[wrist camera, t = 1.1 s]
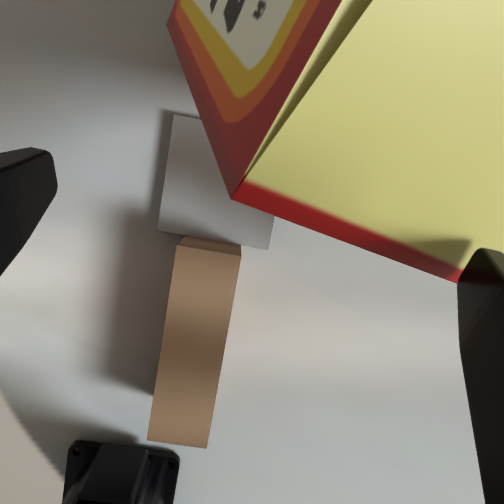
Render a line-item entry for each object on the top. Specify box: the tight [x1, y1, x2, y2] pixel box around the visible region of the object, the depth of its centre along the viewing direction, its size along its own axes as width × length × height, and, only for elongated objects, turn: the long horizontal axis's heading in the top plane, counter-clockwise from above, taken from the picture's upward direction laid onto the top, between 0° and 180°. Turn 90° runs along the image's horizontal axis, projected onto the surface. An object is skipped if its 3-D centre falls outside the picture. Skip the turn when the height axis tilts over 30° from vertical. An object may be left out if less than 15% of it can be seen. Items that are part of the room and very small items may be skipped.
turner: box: [147, 114, 274, 449], centre depth 22 cm, size 16×6×4 cm, turn 170°
